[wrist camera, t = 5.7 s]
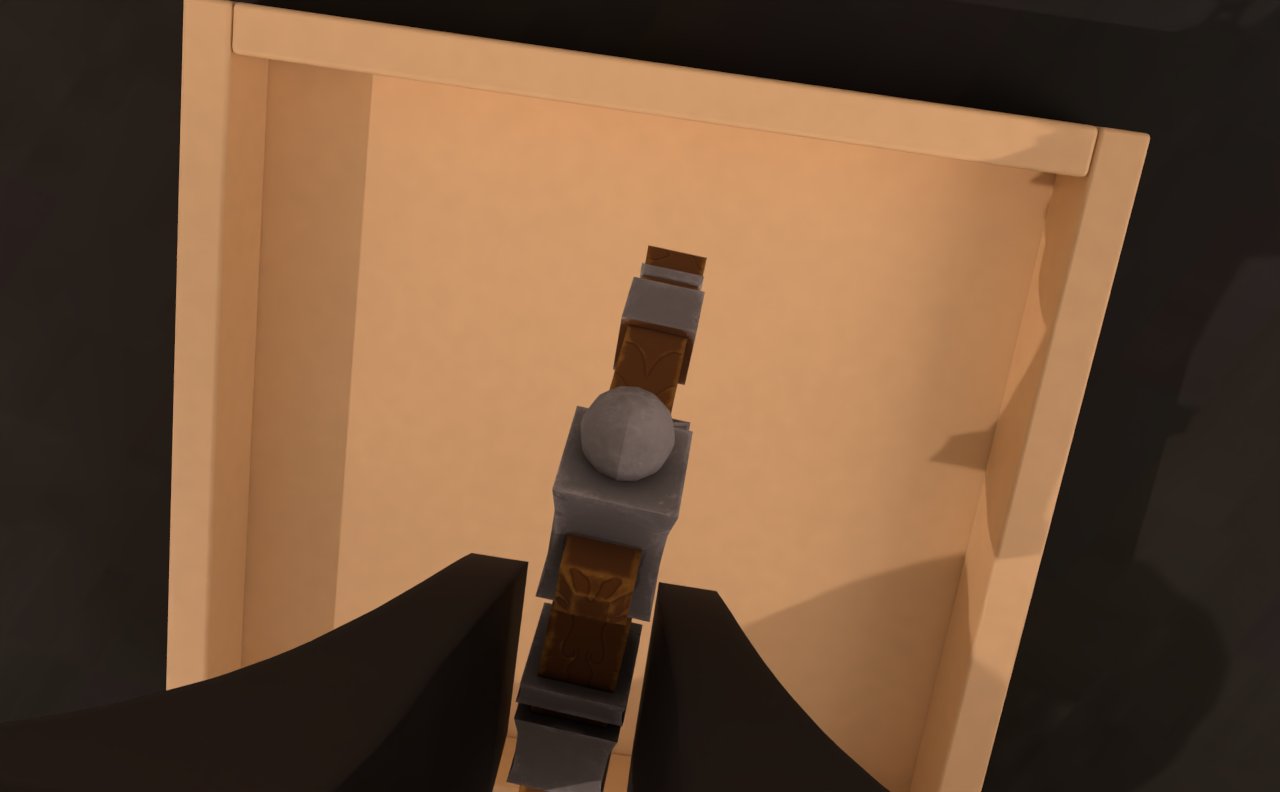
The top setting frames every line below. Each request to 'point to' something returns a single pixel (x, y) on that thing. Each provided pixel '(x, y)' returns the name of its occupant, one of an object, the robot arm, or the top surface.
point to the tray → (586, 345)
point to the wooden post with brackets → (609, 537)
